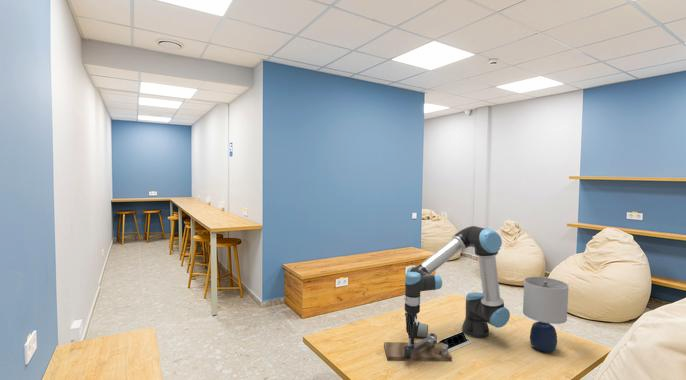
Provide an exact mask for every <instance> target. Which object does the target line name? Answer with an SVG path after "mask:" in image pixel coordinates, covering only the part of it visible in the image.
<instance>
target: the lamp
mask: <svg viewBox="0 0 686 380" xmlns="http://www.w3.org/2000/svg"><path fill="white" fill-rule="evenodd" d="M523 281H524V282H523V303H522V313H523V315H524V316H526V317H527V318H529V319H531V320H533V321H535V322H533V323H532V325H531V328H530V331H529V332H530V333H529V341H530V344H531V346H532V347H533V348H534V349H536V350H537V351H539V352H541V353H542V352H543V353H552V352H554V351H555V350H556V349H557V346H558V336H557V335H558V334H557V333H558V332H557V330H556V328H555V326H553V325H558V324H559V325H560V324H565V323H566V322H567V321H568V307H569V306H568V304H569V303H568V301H569V284H568V283H566V282H565V281H563V280H559V279H556V278H550V277H544V276H543V277H541V276H527V277H525V278H524V279H523Z"/></svg>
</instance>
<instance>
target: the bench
mask: <svg viewBox="0 0 686 380" xmlns="http://www.w3.org/2000/svg"><path fill="white" fill-rule="evenodd" d="M416 343H417V342H414V344H416ZM435 344H441V345H442V350H441V354H436V353H435ZM435 344H433V345H432V346H430V347H429V346H426V347H424V348H422V349H420V350H419V351H417V352H415V353H413V354H412V355H411V358H410V359H405V358H404V347H405V346H408V342H405V341H404V342H399V341H391V342H390V341H389V342H388V341H386V342H383V348H384V351H385V355H386V360H387V361H388V362H390V361H392V362H393V361H394V362H399V361H400V362H403V361H404V362H452V361H453V357H452V355H451V354H450V352H449V345H448V344H446V343H444V342H437V343H435Z"/></svg>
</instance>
